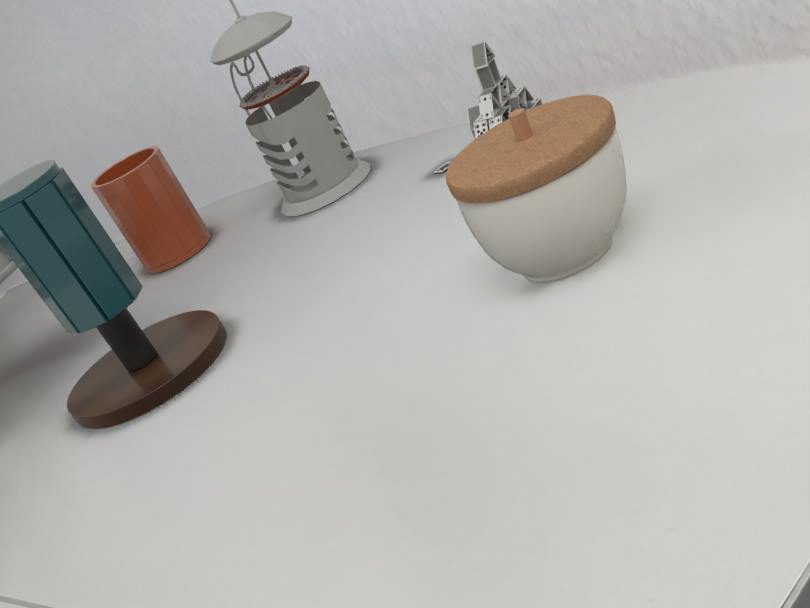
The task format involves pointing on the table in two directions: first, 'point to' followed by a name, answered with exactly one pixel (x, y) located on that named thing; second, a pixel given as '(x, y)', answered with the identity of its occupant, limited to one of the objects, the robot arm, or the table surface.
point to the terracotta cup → (151, 210)
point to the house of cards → (493, 95)
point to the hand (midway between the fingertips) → (12, 263)
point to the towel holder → (145, 366)
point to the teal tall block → (64, 249)
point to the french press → (291, 120)
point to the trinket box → (544, 187)
